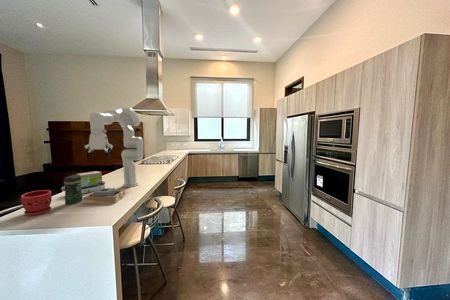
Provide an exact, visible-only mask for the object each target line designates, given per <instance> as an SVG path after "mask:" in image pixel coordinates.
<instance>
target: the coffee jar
mask: <svg viewBox="0 0 450 300" xmlns="http://www.w3.org/2000/svg"><path fill="white" fill-rule="evenodd" d="M63 185H64V194H65V195H64V203H65V205H69V206H70V205H76V204H79V203H80V202H82V201H83V194H82V191H81V176H80V175H76V174H72V175H69V176H66V177H64V178H63Z"/></svg>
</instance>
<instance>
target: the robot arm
mask: <svg viewBox="0 0 450 300" xmlns="http://www.w3.org/2000/svg"><path fill="white" fill-rule="evenodd" d="M88 121H89V124H90V134H89V140H88V144H85V145H84V148H85V150H86V152H87V153H89V159H90V160H91V159H94V158H95V157H94V155H95V154H94V151H95V150H99V151H100V150H104V155H105V156H104V157H105V159H109V158H110V152H111V151H112V149H113V147H114V145H113V144H111V143H109V140H108V136H107V134H106V133H107V129H105V125H111V124H113V123H114V122H118V124H119V125H120V127H121V129H122V130H123V146H124V148H125V149H123V150H122V151H121V154H120V156H121V159H122V165H123V166H122V167H123V183H122V187H124V188H132V187H136V186H137V187H138V185H139V183H138V182H137V180H138V179H137V171H136V164H135V162H134V161H142V160H143V158H144V139H143V138H142V137H141V136H135V130H134V128H133V127H138V126H140V124H141V119H140V117H139V115H138V113H137V112H136V111H135V109H133V108H131V107H118V108H115V109H111V110H105V111H103V110H102V111H97V112H90V113H89V118H88ZM126 148H127V149H126Z"/></svg>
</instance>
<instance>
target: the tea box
mask: <svg viewBox="0 0 450 300" xmlns="http://www.w3.org/2000/svg"><path fill="white" fill-rule="evenodd" d="M75 175H80V176H81V191H82V195H83V194H87V193H93V192H95V191H97V190H98V182H102V181H103V173H102V171H97V170H95V171H88V172H80V173H76V174H75Z"/></svg>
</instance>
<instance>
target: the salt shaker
mask: <svg viewBox="0 0 450 300" xmlns="http://www.w3.org/2000/svg"><path fill="white" fill-rule="evenodd" d="M105 182H106V181H103V180H102V182H98V190H99V189H101V188H105V184H106V183H105Z"/></svg>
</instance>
